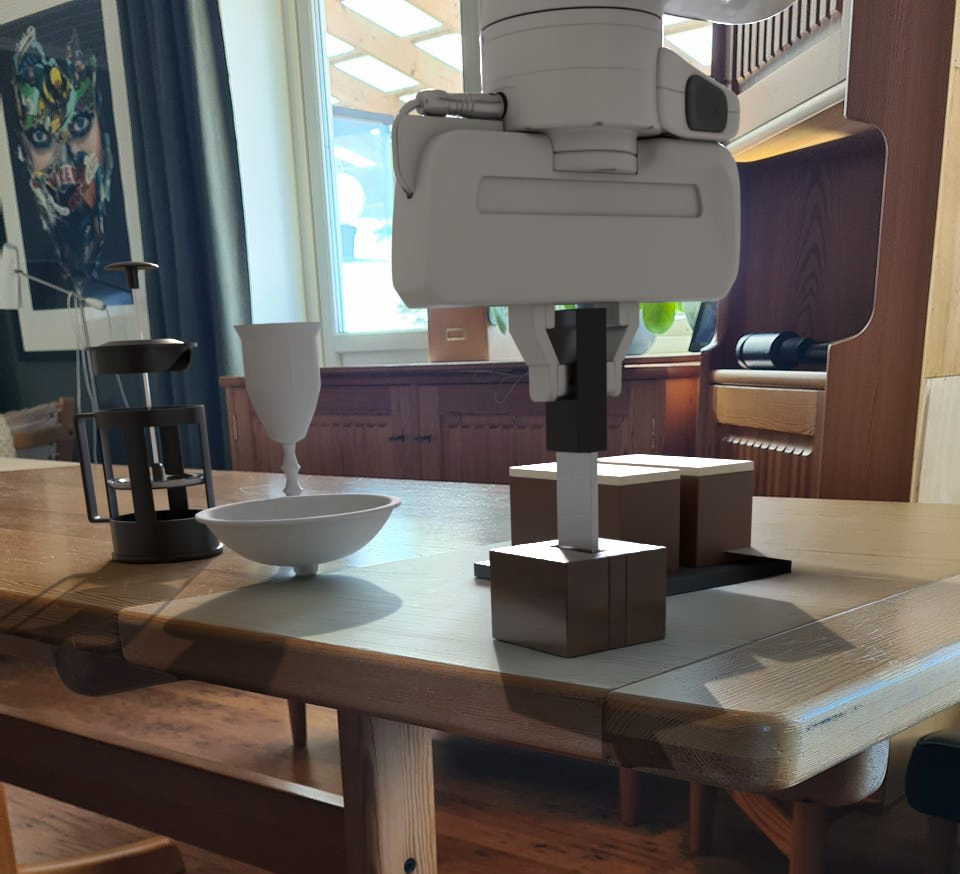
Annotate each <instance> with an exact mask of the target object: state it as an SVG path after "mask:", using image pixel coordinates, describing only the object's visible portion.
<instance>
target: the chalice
mask: <svg viewBox="0 0 960 874" xmlns="http://www.w3.org/2000/svg"><path fill="white" fill-rule="evenodd" d="M322 325H323V321H295V322H294V321H293V322H292V321H291V322H290V321H289V322H270V323H267V322H266V323H249V324H247V323H246V324H235V325H233V326H232V327H233V329H234V331H235V332H236V334H237V336H238V337H239V339H240V345H241V353H242V362H243V363H242V364H243V374H244V384H245V390H246V392H247V395H248V398H249V400H250V402H251V404H252V406H253V409H254V412H255V414H256V415H257V417H258V419H259V420H260V422H261V423H262V426H263V428H264V429H265V431H266V433H267V434H268V436H269V438H270V439H271V440H273V441H275V442H277V443H280V444H281V447H282V451H283V463H282V465H281V467H280V469H281V470H282V471H283V473H284V476H285V479H286V481H285V487H283V489H282V493H284V495H285V497H288V496H301V495H302V493H303V491H304V489H303V488H302V487H301V485H300V483H299V480H298V477H299V471H300V470H301V465H300V464H299V463H298V459H297V456H296V446H297V443H298V442H299V441H301V440H303V439H304V438H306V437H307V434H308V431H309V428H310V425H311V422H312V420H313V417H314V415H315V411H316V410H317V405H318V399H319V397H320V391H321V386H322V383H321V382H322V380H321V369H320V357H319V356H320V355H319V345H318V344H319V343H318V336H319V332H320V330H321V327H322Z"/></svg>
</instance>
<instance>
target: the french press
mask: <svg viewBox="0 0 960 874" xmlns="http://www.w3.org/2000/svg"><path fill="white" fill-rule="evenodd" d="M103 269H104V271H105V270H106V271H125V277H126V282H127V288H128V290H131V293H132V299H133V300H132V301H133V307H134V308H133V309H134V315H135V323H136V329H137V330H136V333H137V338H138V339H131V340H129V339H128V340H113V341H112V340H111V341H107V342H104V343H102V344H99V345H97V346H85V347H84V351H85V352H90V356H91V361H92V369H93V376H105V375H109V376H110V375H131V374H132V375H133V374H142V377H143V384H144V392H145V393H144V394H145V401H146V406H138V407H137V406H136V407H135V406H134V407H119V408H108V409H107V408H106V409H98V410H93V412H83V413H75V414H74V415H73V416H72V421H73V428H74V435H75V440H76V442H75V443H76V449H77V454H78V462H79V468H80V476H81V482H82V488H83V495H84V501H85V508H86V515H87V520H88V522H89V523H90V524H109V528H110V534H111V541H112V548H113V551H112V552H111V559H112V561H115V562H119V563H124V564H125V563H126V564H164V563H176V562H177V563H178V562H186V561H194V560H199V559H200V560H201V559H205V558H210V557H214V556H217V555H219V554H222V553H223V552H224V544H223V543H221V541H220V540H219V539H218V538H217V537H216V536H215V535H214V534H213V533H212V532H211V530H210V529H209V528H208V527H207V525H206V524H203V523H200V522H198V521H196V519H195V515H196V514H197V513H199V512H201V511H203V510H206V509H209V508H213V507H217V505H216V499H215V491H214V481H213V480H214V479H213V474H212V462H211V455H210V447H209V435H208V429H207V419H206V410H205V405H204V404H182V405H180V404H178V405H155V406H153V405H152V400H151V392H150V391H151V390H150V385H149V384H150V383H149V375H148V374H150V373H151V374H152V373H164V372H166V373H167V372H184V371H187V370H189V369H190V367H191V365H192V363H193V357H194V356H193V355H194V353H193V348H197V347H198V342H183V341H180V340H177V339H174V338H156V339H155V338H153V339H144V338H143V329H142V321H141V314H140V313H141V312H140V307H139V299H138V291H137V290H140V289H141V286H140V274H139V273H140V272H139V271H146V270H156V269H159V265H158V264H155V263H153V262H148V261H119V262H115V263H110V264H108V265H106V266H104V268H103ZM86 419H94V423H95V428H96V430H97V438H98V445H99V452H100V458H101V465H102V471H103V472H102V473H103V479H104V486H105V493H106V498H107V499H106V501H107V506H108V515H109V516H100V515H99V510H98V504H97V503H98V502H97V497H96V489H95V484H94V483H95V481H94V476H93V469H92V462H91V455H90V449H89V443H88V442H89V441H88V435H87V428H86V421H85V420H86ZM196 424H197V429H198V437H199V438H198V439H199V446H200V454H201V464H202V472H185V465H184V457H183V456H184V455H183V448H182V440H181V439H182V438H181V432H180V426H185V425H196ZM146 428H149V432H150V439H151V446H152V455H153V463H152V464H151V466H150V462H149V461H150V460H149V453H148V446H147V439H146V431H145V429H146ZM155 428H158V430H159V437H160V444H161V445H160V446H161V453H162V462H163V464H162V463H161V462H159V454H158V446H157V439H156V432H155V431H156V430H155ZM108 429H122V433H123V439H124V447H125V448H124V449H125V453H126V462H127V468H128V475H127V476H121V477H116V478H115V477H114V470H113V469H114V468H113V462H112V456H111V448H110V441H109V433H108ZM150 467H151V469H150ZM202 485H204V490H205V498H206V499H205V500H206V507H207V508H190V507H189V506H190V505H189V499H188V498H189V497H188V489H187V487H196V486H202ZM153 490H166V493H167V500H168V501H167V502H168V509H158V510H157V509H156V508H155V506H156V505H155V500H154V499H155V498H154V492H153ZM117 491H131V499H132V506H133V507H132V508H133V512H129V513H123V514H120V512H119V505H118V497H117Z"/></svg>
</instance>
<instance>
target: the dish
mask: <svg viewBox="0 0 960 874" xmlns="http://www.w3.org/2000/svg"><path fill="white" fill-rule="evenodd" d="M401 505H402V500H401V498H400V497H397V496H395V495H389V494H380V493H360V492H359V493H358V492H357V493H356V492H355V493H350V492H349V493H347V492H346V493H321V494H320V493H319V494H318V493H317V494H300V496H288V497H287V496H279V497H269V498H268V497H267V498H261V499H253V500H246V501H239V502H233V503H227V504H222V505H216V507H213V508H209V509H208V508H205V509H206V510H203V511H201V512H199V513H197V514H196V515H195V519H196V521H198V522H200V523H203V524H206V525H207V527H208V528H209V529H210V530H211V532H212V533H213V534H214V535H215V536H216V537H217V538H218V539H219V541H220V543H221V544H223V545H224V546H226V547H227V548H228V549H229V550H231V551H232V552H234V553H236V554H237V555H239V556H240V557H242V558H244V559H246V560H250V561H251V562H255V563H259V564H262V565H266V566H267V565H268V566H274V567H275V566H276V567H292V569H293V571H294V574H295V575H297V576H309V575H315V574H317V573H318V571H319V565H322V564H326V563H331V562H335V561H337V560H341V559H342V558H343V559H344V558H346V557H348V556H351V555H353V554H355V553H356V552H359V551H360V550H362V549H363V548H364V547H365V546H367V545H368V544H369V543H370V542H371V541H372V540H373V539H374V538H375V537H376V536H377V535H378V534H379V532H380V531H381V530H382V529H383V527H384V526H385V524H386V523H387V521H388V520H389V518H390V517H391V515H392V512H393V510H395V509H397V508H399V507H400V506H401Z"/></svg>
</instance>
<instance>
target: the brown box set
mask: <svg viewBox="0 0 960 874" xmlns="http://www.w3.org/2000/svg"><path fill="white" fill-rule="evenodd" d="M754 470H755V461H753V460H740V459H725V458H724V459H723V458H709V457H708V458H707V457H706V458H705V457H688V456H675V455H673V456H671V455H654V454H627V455H618V456H617V455H616V456H608V457H599V458H598V538H603V539H610V540H618V541H625V542H632V543H639V544H646V545H654V546H661V547H666V548H667V569H666V595H667V596H672V594H673V595H678V594H683V592H684V593H689V592H695V591H700V590H706V589H711V588H717V587H722V586H727V585H733V584H739V583H743V582H744V583H745V582H749V581H754V580H761V579H766V578H771V577H777V576H783V575H788V574H792V568H793V567H792V566H793V560H792V559H791V560H790V559H783V558H777V557H769V556H763V555H762V556H761V555H755V554H746V553H740V552H739V553H738V552H731V551H734V550H741V549H747V548H751V547H752V526H753V525H752V523H753V502H754V501H753V497H754V475H755V474H754ZM508 472H509V480H508V481H509V508H510V510H509V511H510V513H509V515H510V542H511V544H510V545H511V546H510V547H513V546H520V545H527V544H534V543H541V542H548V541H554V540H558V520H557V468H556V462H549V463H539V464H530V465H521V466H520V465H519V466H510V467H509V468H508ZM473 576H474V577H476V578H480V579H486V580H490V563H489V560H484V561H477V562H474V563H473Z"/></svg>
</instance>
